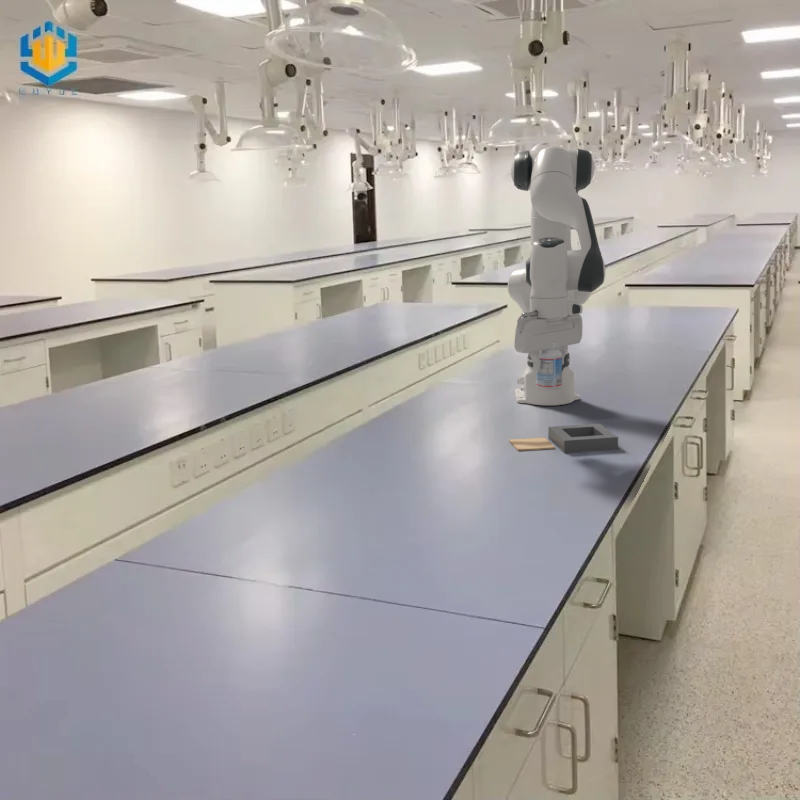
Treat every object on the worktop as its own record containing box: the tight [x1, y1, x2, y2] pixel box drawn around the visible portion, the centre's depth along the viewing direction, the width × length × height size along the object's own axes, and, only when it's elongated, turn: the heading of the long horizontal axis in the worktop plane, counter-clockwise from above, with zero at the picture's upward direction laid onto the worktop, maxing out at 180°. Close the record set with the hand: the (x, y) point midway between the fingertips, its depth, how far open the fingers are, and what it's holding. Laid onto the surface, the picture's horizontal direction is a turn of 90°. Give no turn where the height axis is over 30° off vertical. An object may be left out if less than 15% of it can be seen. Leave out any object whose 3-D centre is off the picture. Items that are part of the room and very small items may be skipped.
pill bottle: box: [536, 341, 562, 390], centre depth 203 cm, size 6×6×11 cm
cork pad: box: [508, 436, 556, 452], centre depth 208 cm, size 9×9×1 cm
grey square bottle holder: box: [547, 423, 619, 454], centre depth 207 cm, size 13×13×3 cm
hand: (548, 366), depth 204 cm, fingers closed on pill bottle, 6 cm apart
